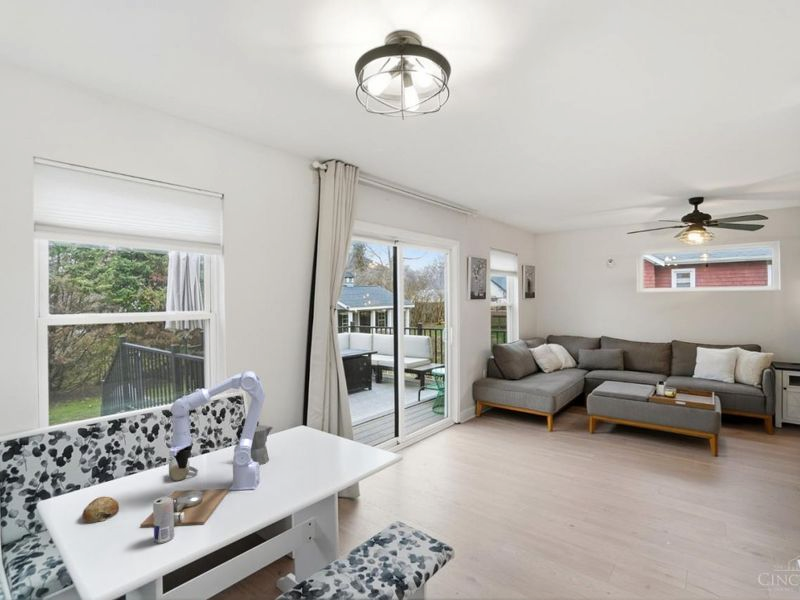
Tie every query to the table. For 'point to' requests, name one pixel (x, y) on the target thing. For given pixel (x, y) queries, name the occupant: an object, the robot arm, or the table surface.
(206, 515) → the stand board
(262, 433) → the coffeepot
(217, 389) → the robot arm
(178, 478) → the ceramic mug
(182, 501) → the grey metal rounded piece
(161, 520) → the energy drink
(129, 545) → the table surface
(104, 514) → the bread roll
